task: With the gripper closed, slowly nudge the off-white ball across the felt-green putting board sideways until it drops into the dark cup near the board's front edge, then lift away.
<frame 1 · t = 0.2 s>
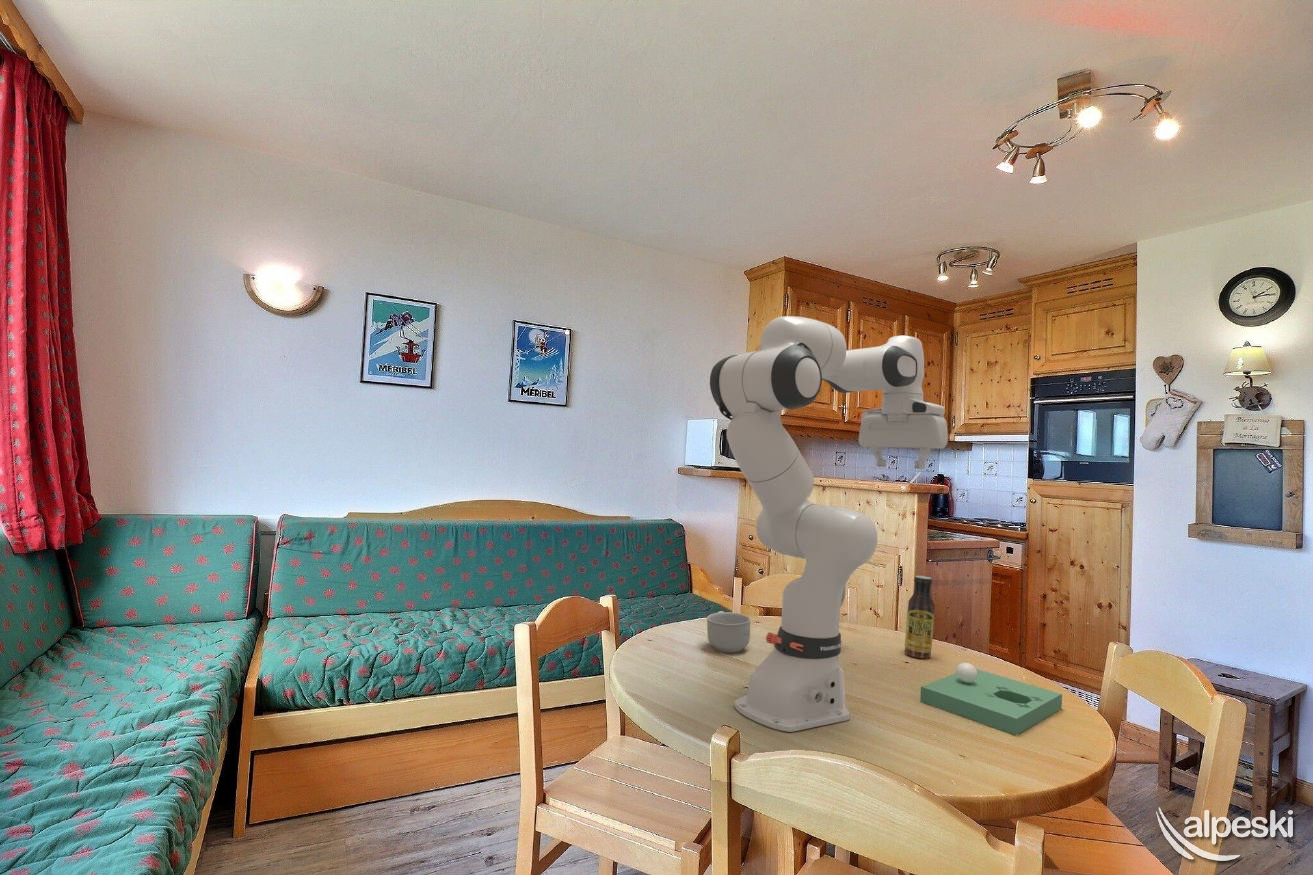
hand: (899, 467, 142), 47 cm above the table, tool pointing down, fingers open, 8 cm apart
teacup: (726, 647, 155), on the table
putting board: (990, 705, 125), on the table
ball: (966, 672, 129), point 5 cm above the table, touching putting board
sauce bottle: (918, 656, 155), on the table
chalice: (831, 647, 159), on the table
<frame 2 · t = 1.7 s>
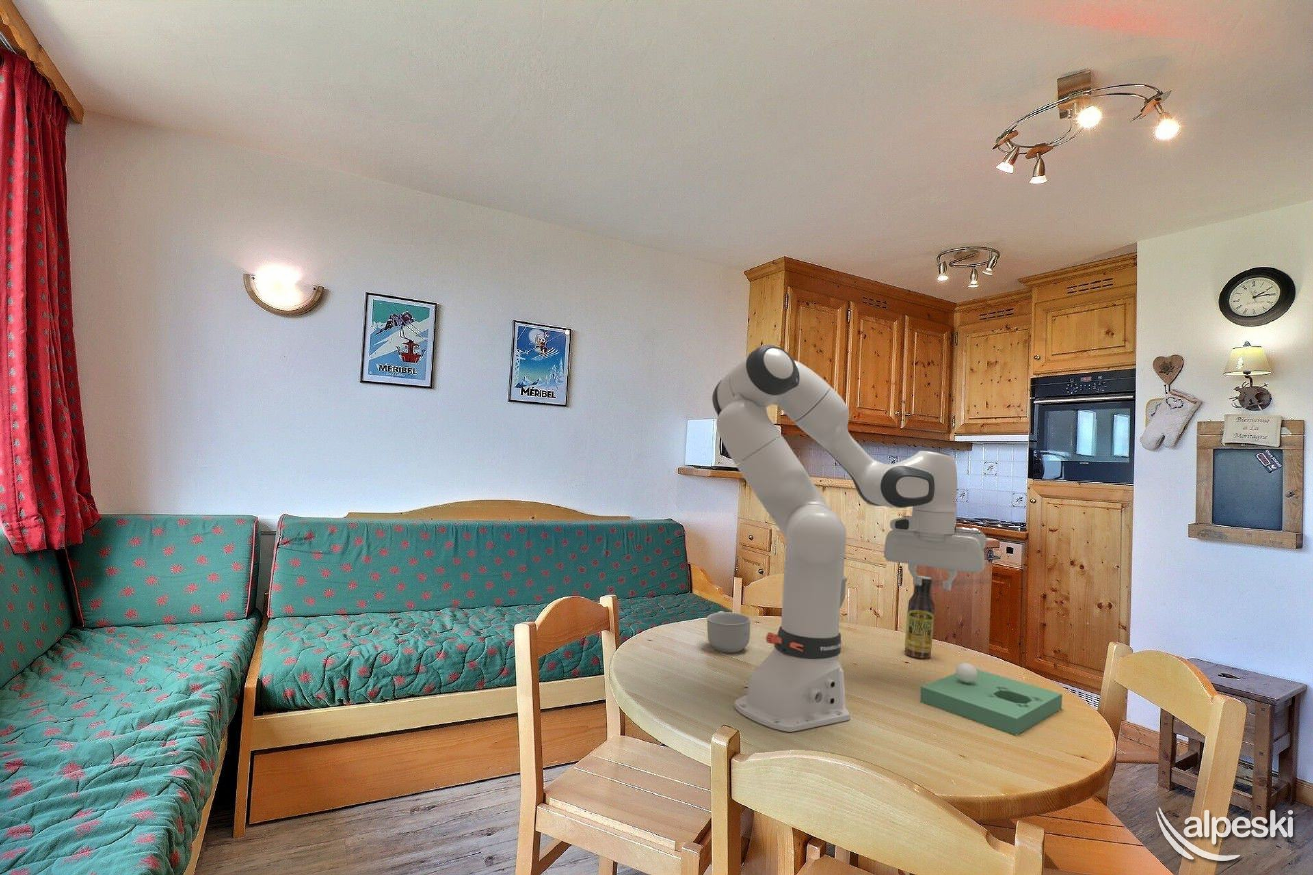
hand: (931, 587, 135), 21 cm above the table, tool pointing down, fingers open, 5 cm apart
nothing on the table moved.
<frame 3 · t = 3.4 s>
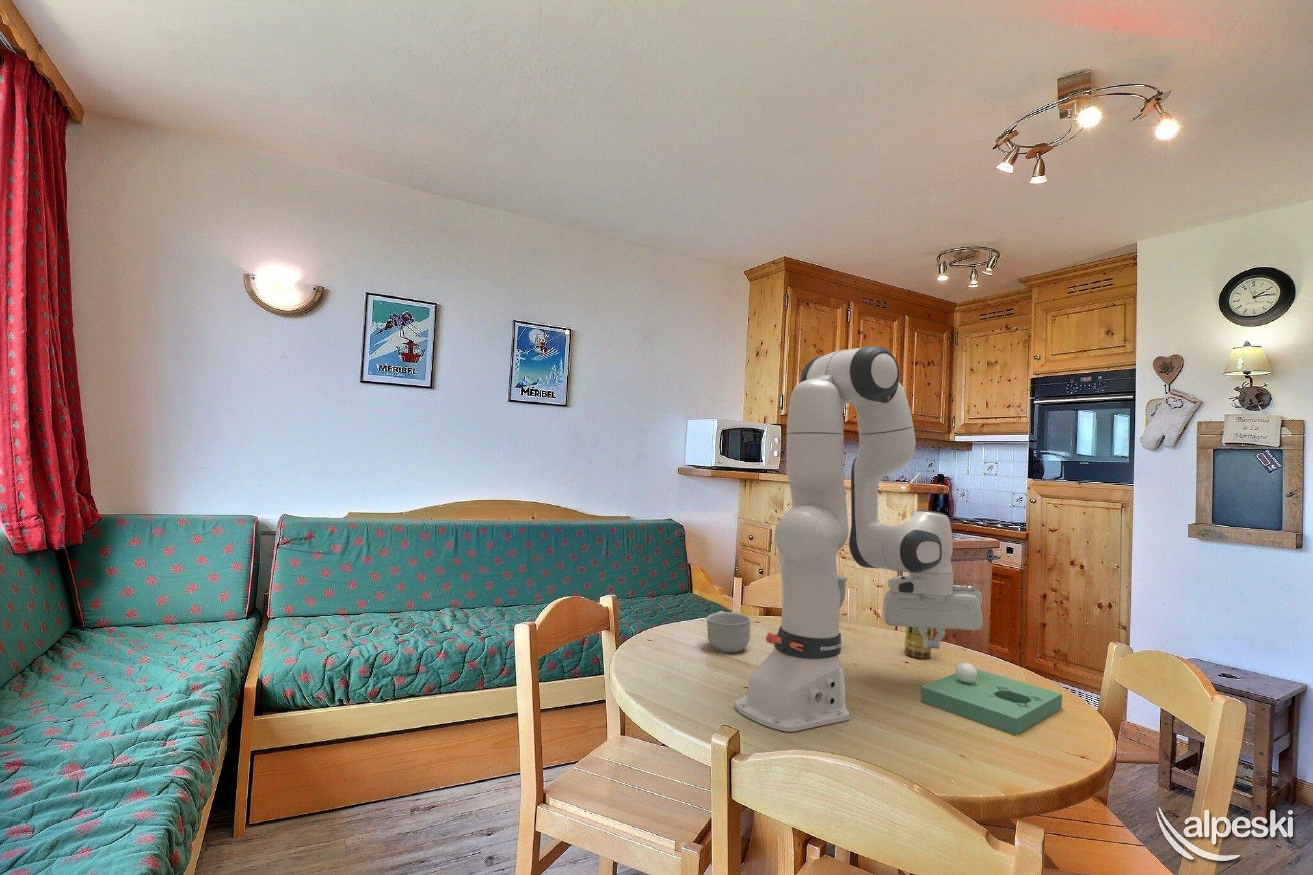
hand: (931, 647, 135), 8 cm above the table, tool pointing down, fingers closed
nothing on the table moved.
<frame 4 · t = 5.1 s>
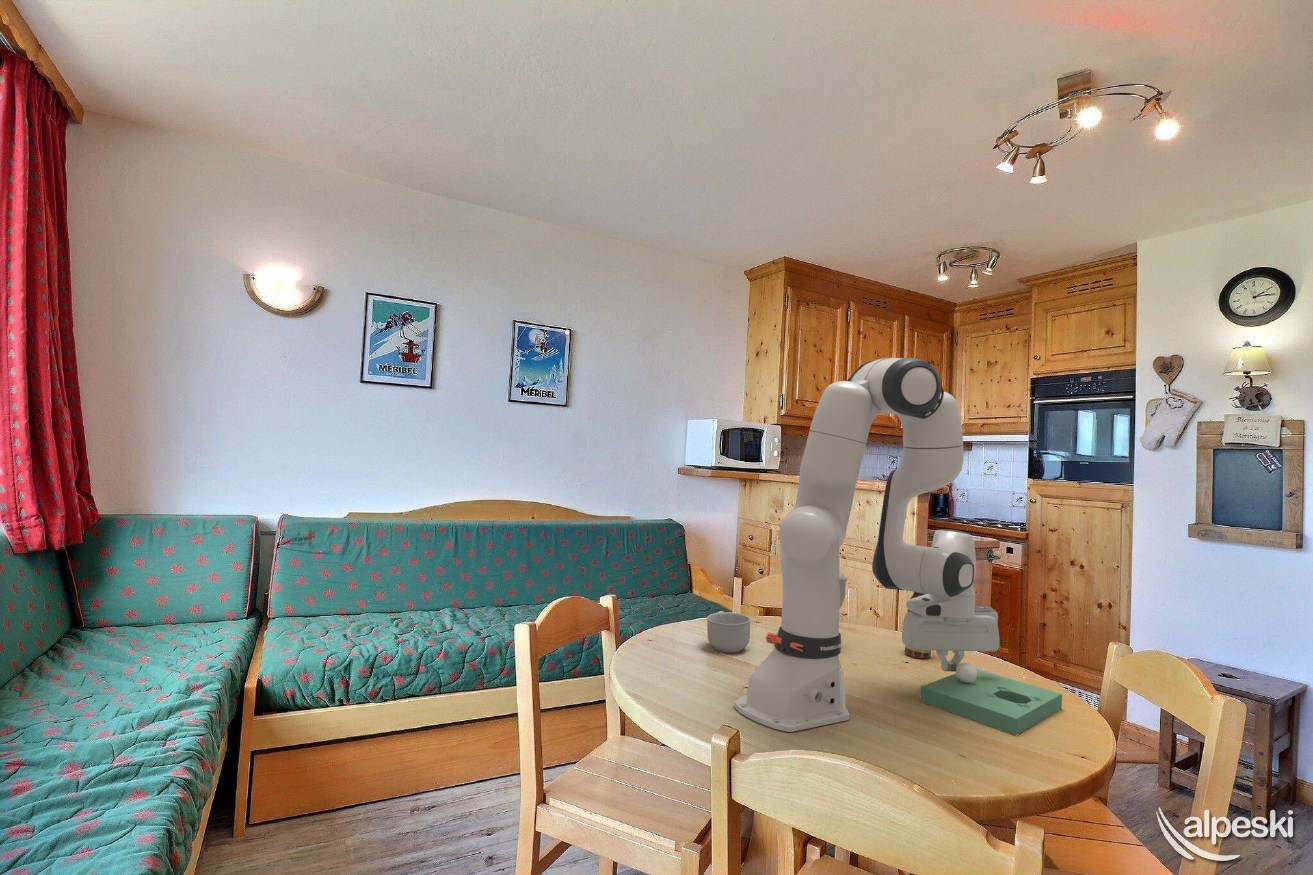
hand: (949, 670, 132), 4 cm above the table, tool pointing down, fingers closed
nothing on the table moved.
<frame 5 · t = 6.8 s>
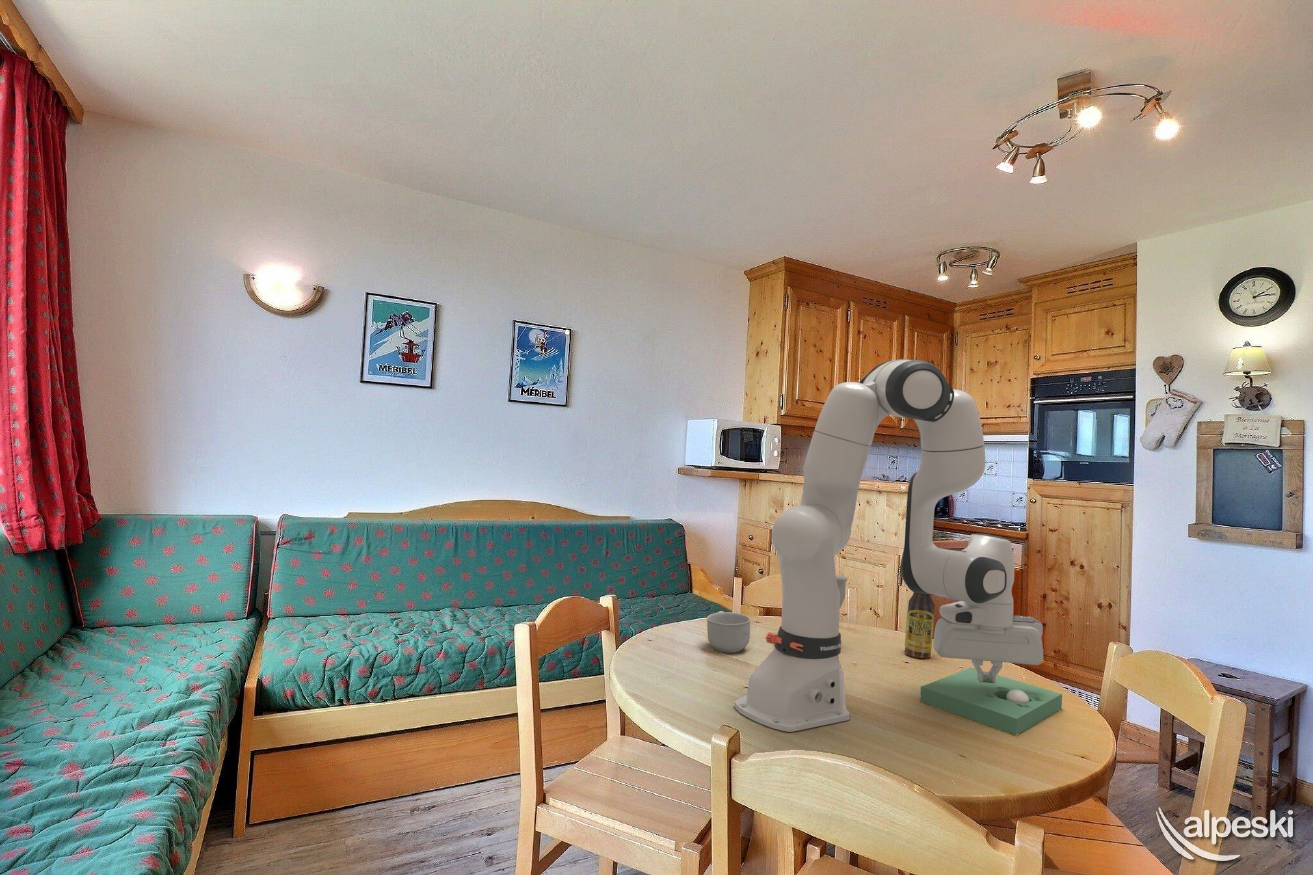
hand: (986, 681, 126), 4 cm above the table, tool pointing down, fingers closed
ball: (1017, 700, 122), point 2 cm above the table, tilted 98°, touching putting board
everything else where it was.
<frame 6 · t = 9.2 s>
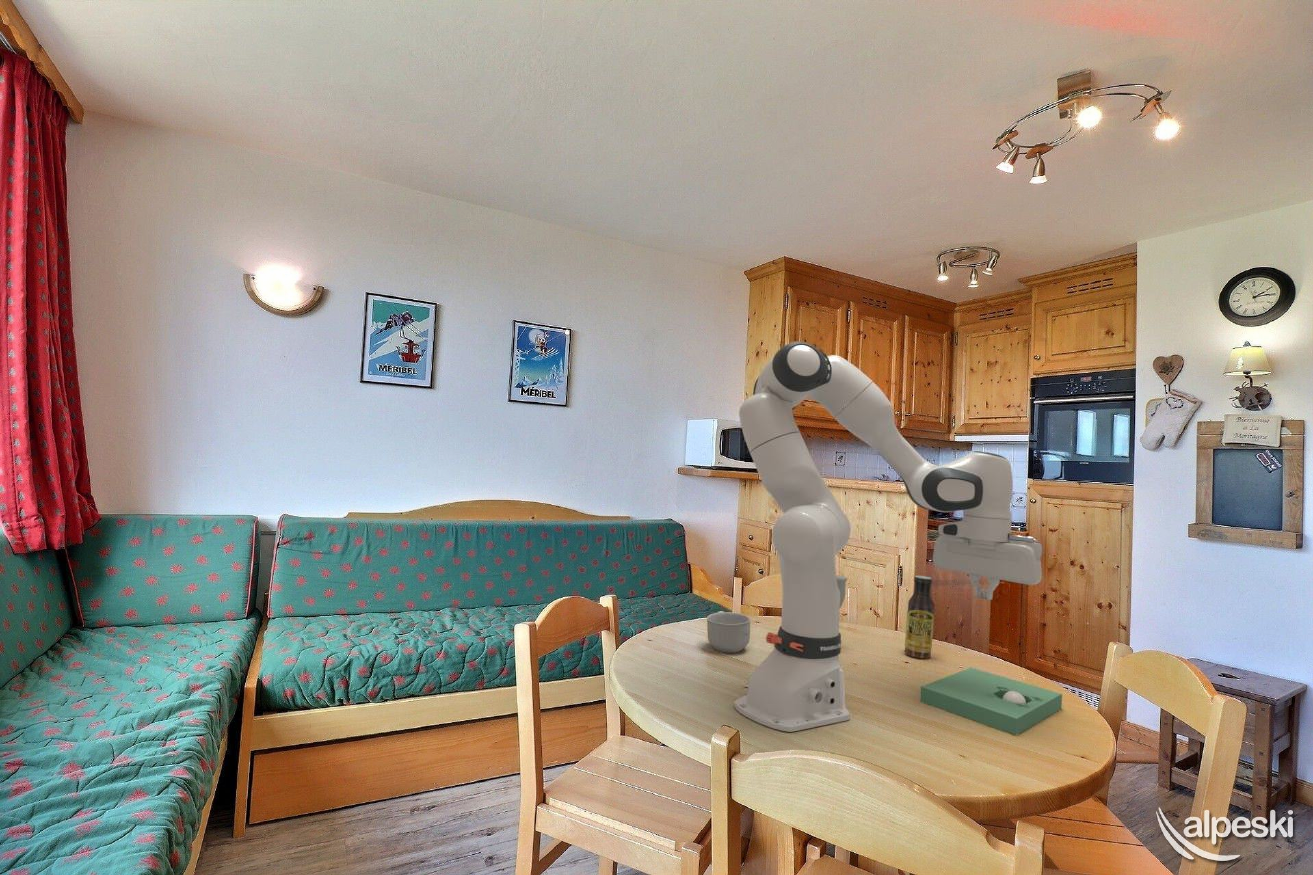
hand: (983, 598, 127), 21 cm above the table, tool pointing down, fingers closed
ball: (1014, 701, 121), point 2 cm above the table, tilted 90°, touching putting board
everything else where it was.
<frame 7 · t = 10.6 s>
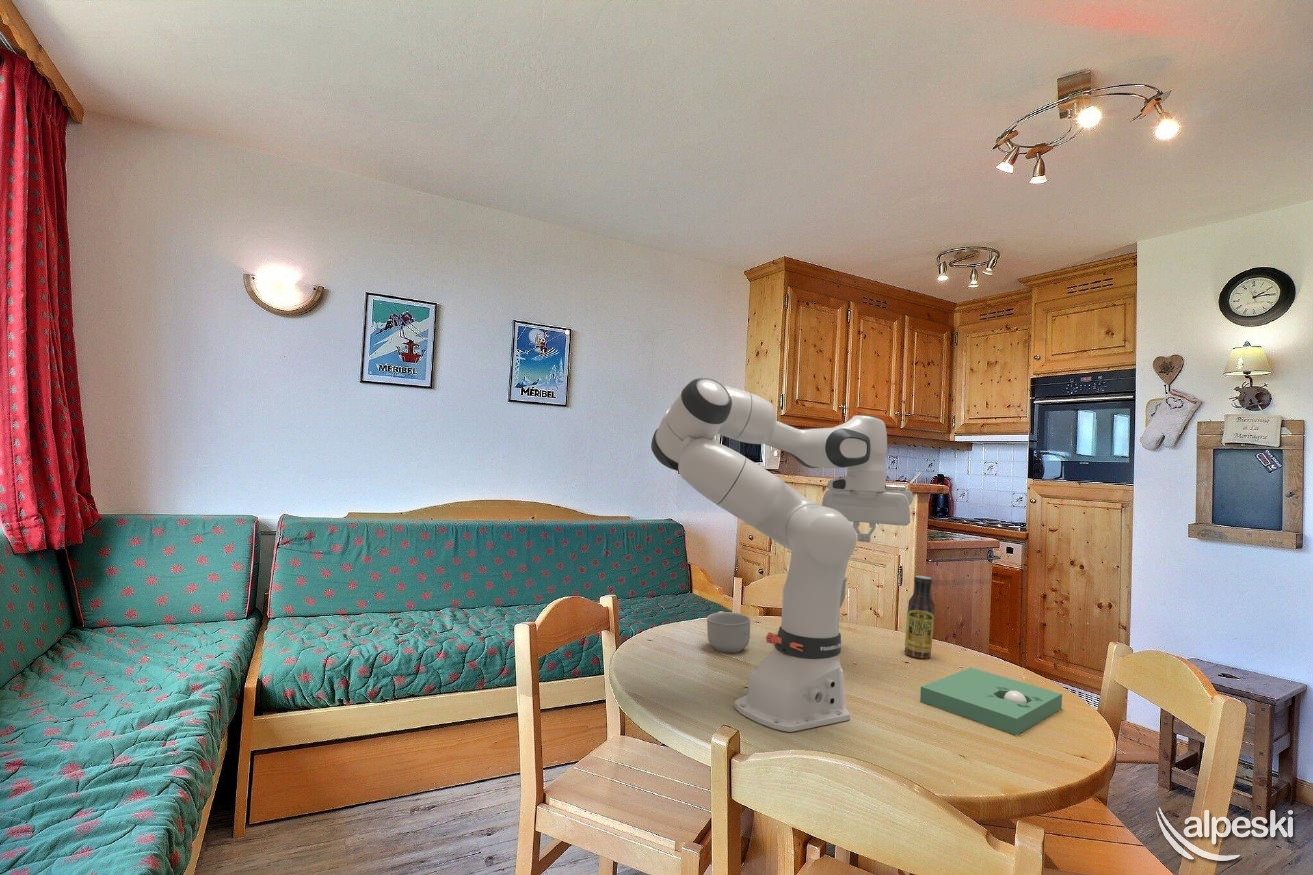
hand: (863, 541, 147), 29 cm above the table, tool pointing down, fingers closed
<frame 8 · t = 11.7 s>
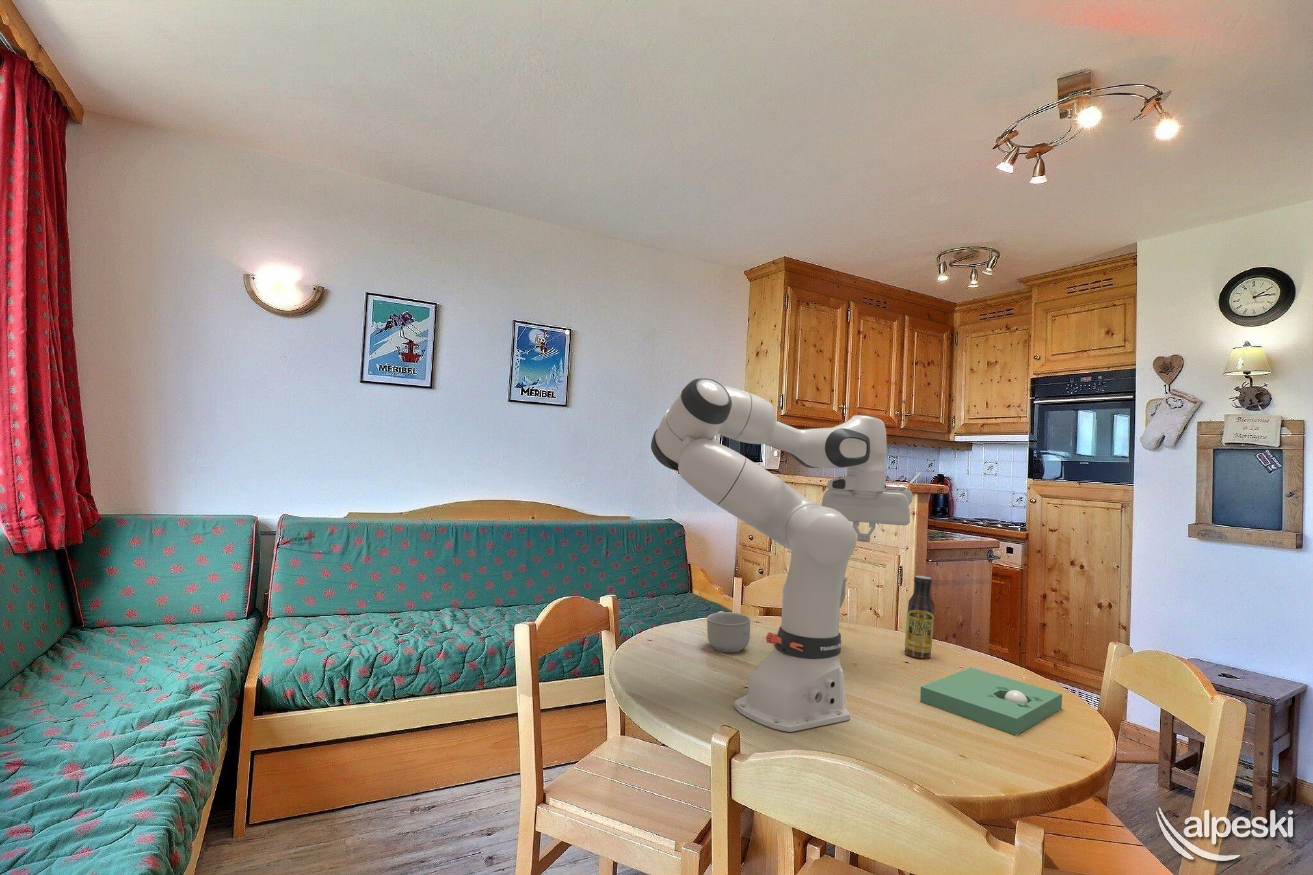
hand: (863, 541, 147), 29 cm above the table, tool pointing down, fingers closed
at the end: ball 0.7 cm from the target spot on the putting board, point 2.4 cm above the putting board's base; ball moved 10.0 cm from its start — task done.
